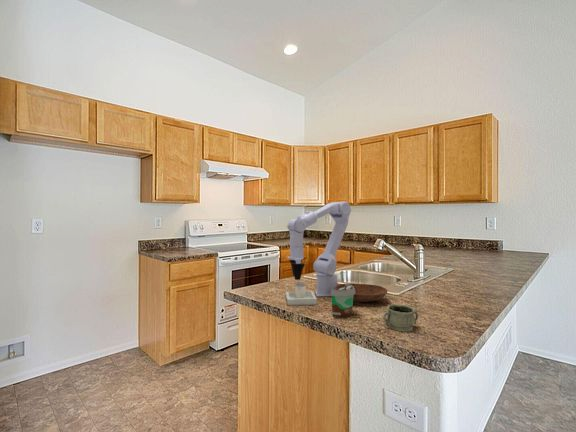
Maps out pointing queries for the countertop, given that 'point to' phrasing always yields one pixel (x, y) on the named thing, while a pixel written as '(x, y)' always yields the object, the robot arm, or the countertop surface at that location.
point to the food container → (342, 301)
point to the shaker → (300, 290)
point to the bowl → (366, 292)
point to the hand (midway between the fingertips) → (296, 277)
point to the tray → (308, 300)
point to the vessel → (400, 317)
